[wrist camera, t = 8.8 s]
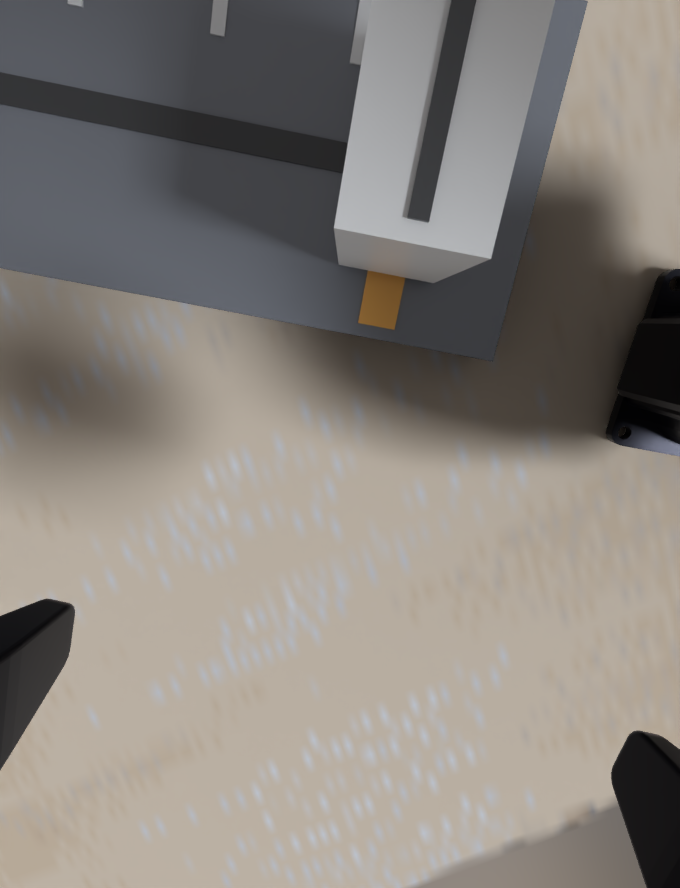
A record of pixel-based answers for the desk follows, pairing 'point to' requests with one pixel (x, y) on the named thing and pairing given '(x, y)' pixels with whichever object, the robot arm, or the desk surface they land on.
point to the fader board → (228, 162)
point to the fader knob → (436, 132)
